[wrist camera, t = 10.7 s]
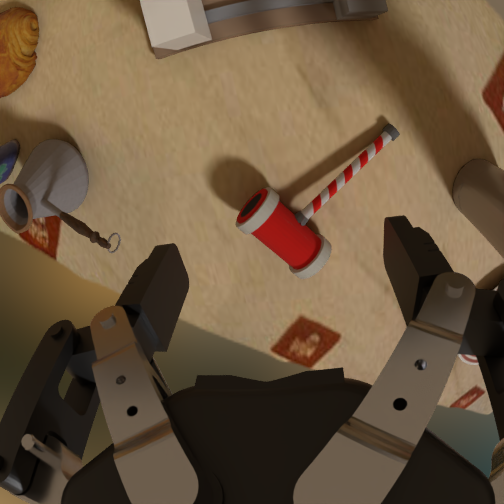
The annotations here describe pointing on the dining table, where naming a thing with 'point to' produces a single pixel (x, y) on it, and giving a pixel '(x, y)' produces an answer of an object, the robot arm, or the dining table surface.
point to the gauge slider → (175, 23)
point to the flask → (8, 158)
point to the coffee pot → (49, 190)
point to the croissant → (17, 48)
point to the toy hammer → (300, 218)
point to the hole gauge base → (276, 16)
